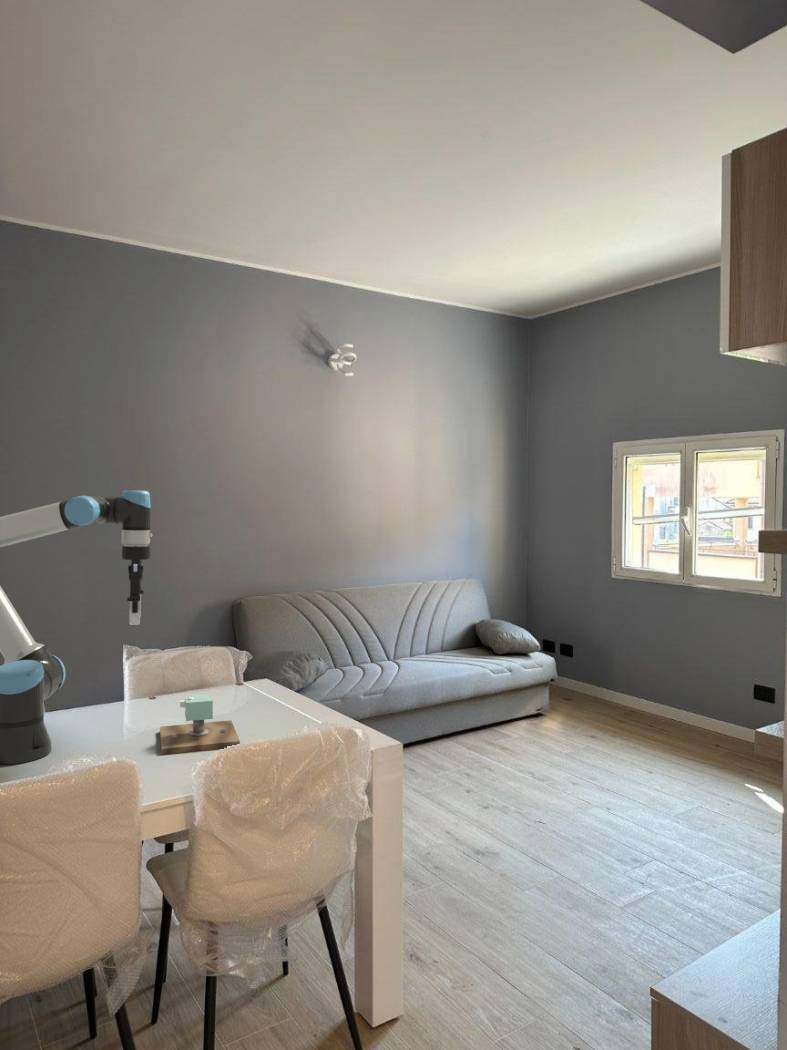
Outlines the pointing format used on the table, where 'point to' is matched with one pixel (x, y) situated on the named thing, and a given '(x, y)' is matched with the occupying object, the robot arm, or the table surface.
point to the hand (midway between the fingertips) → (135, 620)
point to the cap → (198, 707)
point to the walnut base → (197, 736)
